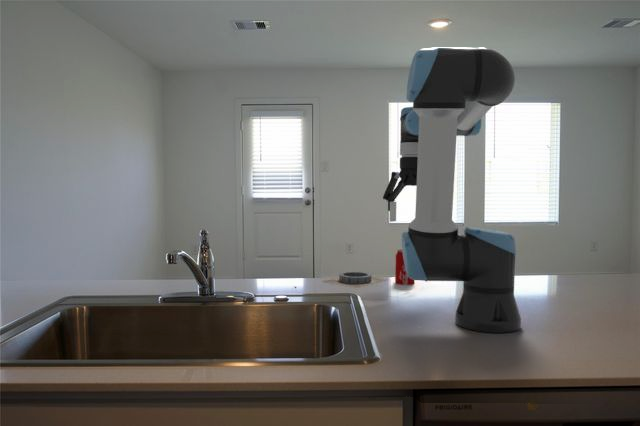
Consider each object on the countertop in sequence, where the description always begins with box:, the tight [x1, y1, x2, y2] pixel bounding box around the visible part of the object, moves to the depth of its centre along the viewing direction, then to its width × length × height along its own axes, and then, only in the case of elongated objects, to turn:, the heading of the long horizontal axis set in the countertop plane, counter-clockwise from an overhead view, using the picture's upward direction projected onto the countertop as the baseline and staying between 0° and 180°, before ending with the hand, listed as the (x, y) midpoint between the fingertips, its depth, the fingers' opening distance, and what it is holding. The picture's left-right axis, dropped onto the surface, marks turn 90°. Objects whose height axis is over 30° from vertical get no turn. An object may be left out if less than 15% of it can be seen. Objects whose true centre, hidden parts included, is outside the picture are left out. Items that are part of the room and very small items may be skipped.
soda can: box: [394, 249, 416, 286], centre depth 169 cm, size 6×6×12 cm
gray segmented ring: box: [338, 271, 373, 284], centre depth 172 cm, size 10×10×2 cm
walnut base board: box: [321, 276, 389, 289], centre depth 173 cm, size 18×14×2 cm
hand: (410, 222), depth 168 cm, fingers open, 13 cm apart
